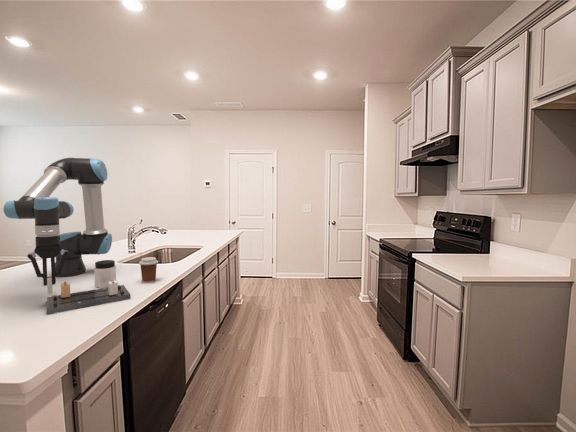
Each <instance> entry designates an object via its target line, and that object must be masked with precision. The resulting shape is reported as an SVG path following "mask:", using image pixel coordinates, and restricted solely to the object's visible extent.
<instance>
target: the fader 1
mask: <svg viewBox="0 0 576 432" xmlns="http://www.w3.org/2000/svg"><path fill="white" fill-rule="evenodd" d="M70 293H71V283H70V282H69V281H64V282H63V283H62V282H61V283H60V295H61V298H64V297H70Z"/></svg>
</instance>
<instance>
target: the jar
mask: <svg viewBox="0 0 576 432" xmlns="http://www.w3.org/2000/svg"><path fill="white" fill-rule="evenodd" d="M94 266H95V267H94V268H93V274H94V275H93V277H94V278H93V279H94V287H95V288H97V289H101V288H108V282H109V281H111V280H113V281H115V280H116V281H117V268H116V263H115V260H112V259H105V260H104V259H103V260H98V261H95V263H94Z"/></svg>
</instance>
